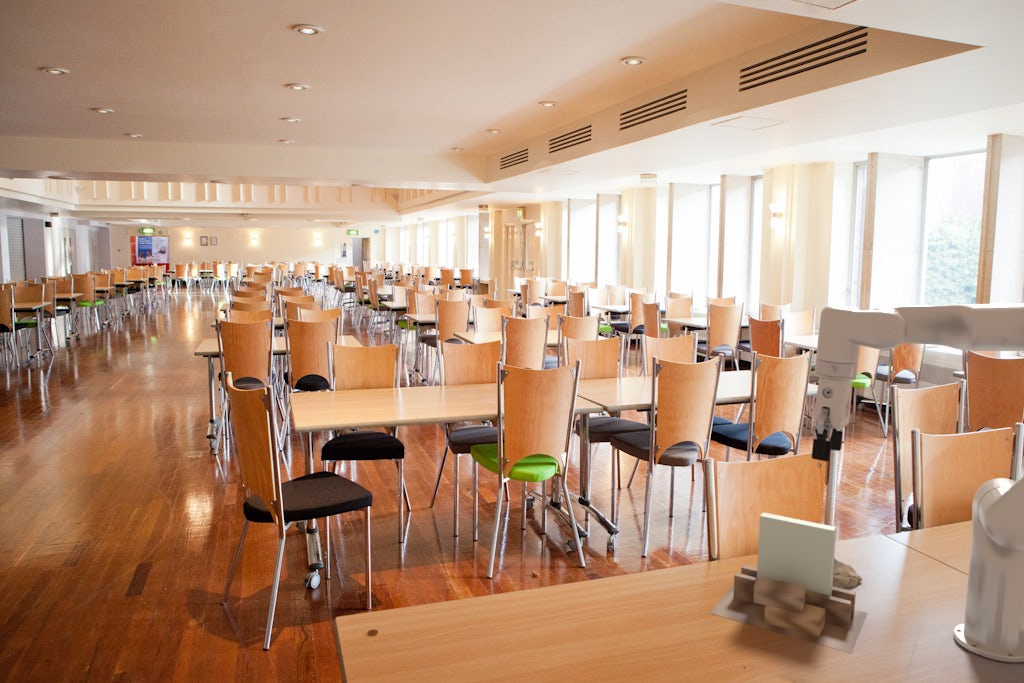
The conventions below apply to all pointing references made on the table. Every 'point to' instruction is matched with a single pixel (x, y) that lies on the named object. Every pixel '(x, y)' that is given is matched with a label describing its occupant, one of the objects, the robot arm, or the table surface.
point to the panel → (796, 552)
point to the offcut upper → (779, 594)
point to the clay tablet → (844, 576)
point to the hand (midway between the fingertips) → (826, 454)
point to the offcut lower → (797, 619)
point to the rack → (839, 607)
